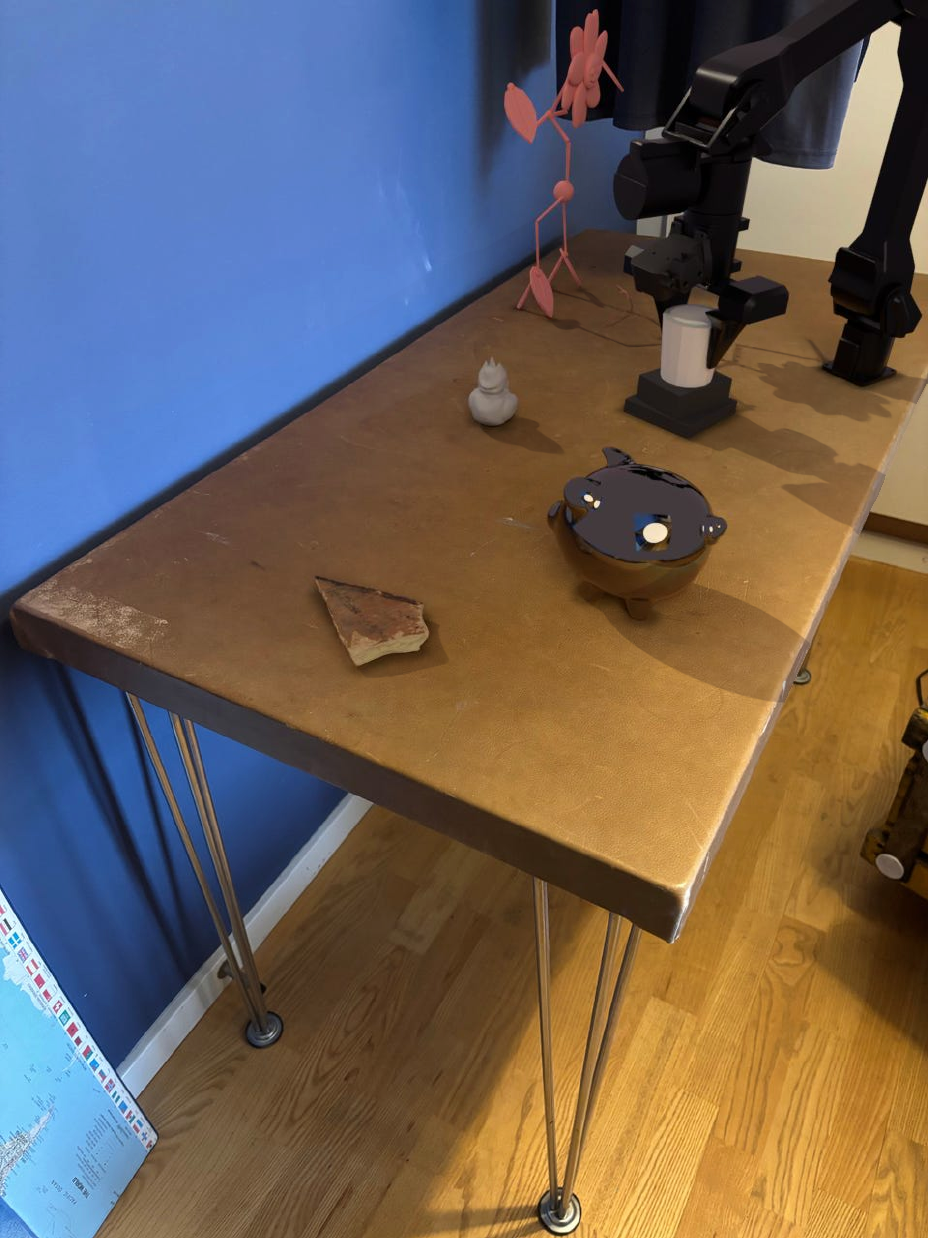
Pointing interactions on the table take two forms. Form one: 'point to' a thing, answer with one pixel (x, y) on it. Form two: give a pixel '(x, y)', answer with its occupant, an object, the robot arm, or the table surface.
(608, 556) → the piggy bank
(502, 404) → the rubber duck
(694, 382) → the shot glass
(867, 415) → the table surface
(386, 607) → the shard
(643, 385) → the black pad
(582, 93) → the figurine
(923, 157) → the robot arm
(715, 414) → the base pad
